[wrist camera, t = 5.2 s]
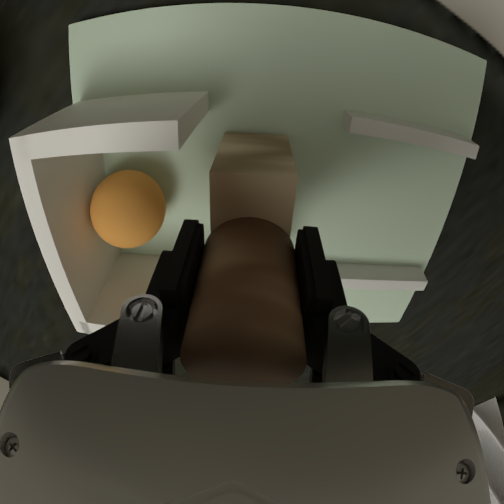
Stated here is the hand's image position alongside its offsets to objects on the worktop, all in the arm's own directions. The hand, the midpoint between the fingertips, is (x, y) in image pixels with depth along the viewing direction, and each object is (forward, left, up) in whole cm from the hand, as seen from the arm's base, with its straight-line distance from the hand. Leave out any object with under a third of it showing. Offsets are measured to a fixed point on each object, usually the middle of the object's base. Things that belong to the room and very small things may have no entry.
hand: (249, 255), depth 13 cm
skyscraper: (-43, +37, -6) cm, 57 cm away
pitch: (-1, 0, -6) cm, 6 cm away
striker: (0, 0, -5) cm, 5 cm away
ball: (+6, 0, -3) cm, 7 cm away
